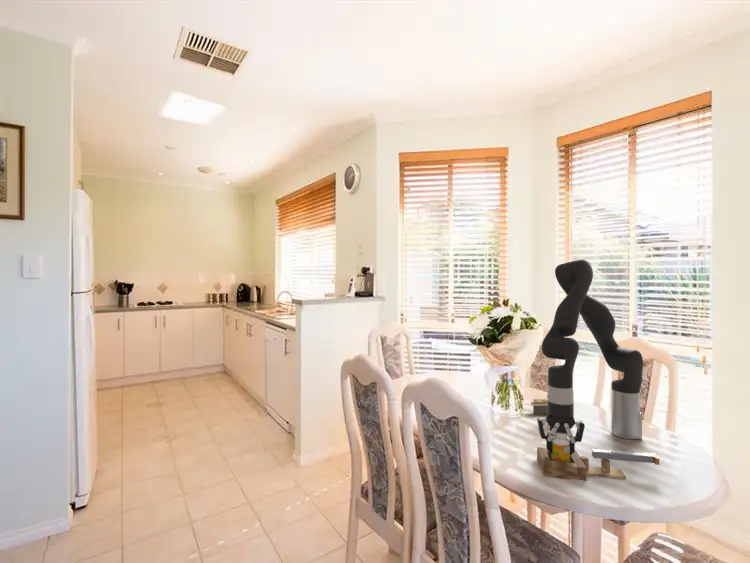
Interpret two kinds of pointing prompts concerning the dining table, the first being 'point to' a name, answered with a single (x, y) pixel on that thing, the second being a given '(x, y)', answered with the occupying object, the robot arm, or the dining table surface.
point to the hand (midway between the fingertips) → (560, 452)
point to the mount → (602, 469)
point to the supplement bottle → (560, 447)
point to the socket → (561, 466)
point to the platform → (539, 406)
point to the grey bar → (625, 456)
